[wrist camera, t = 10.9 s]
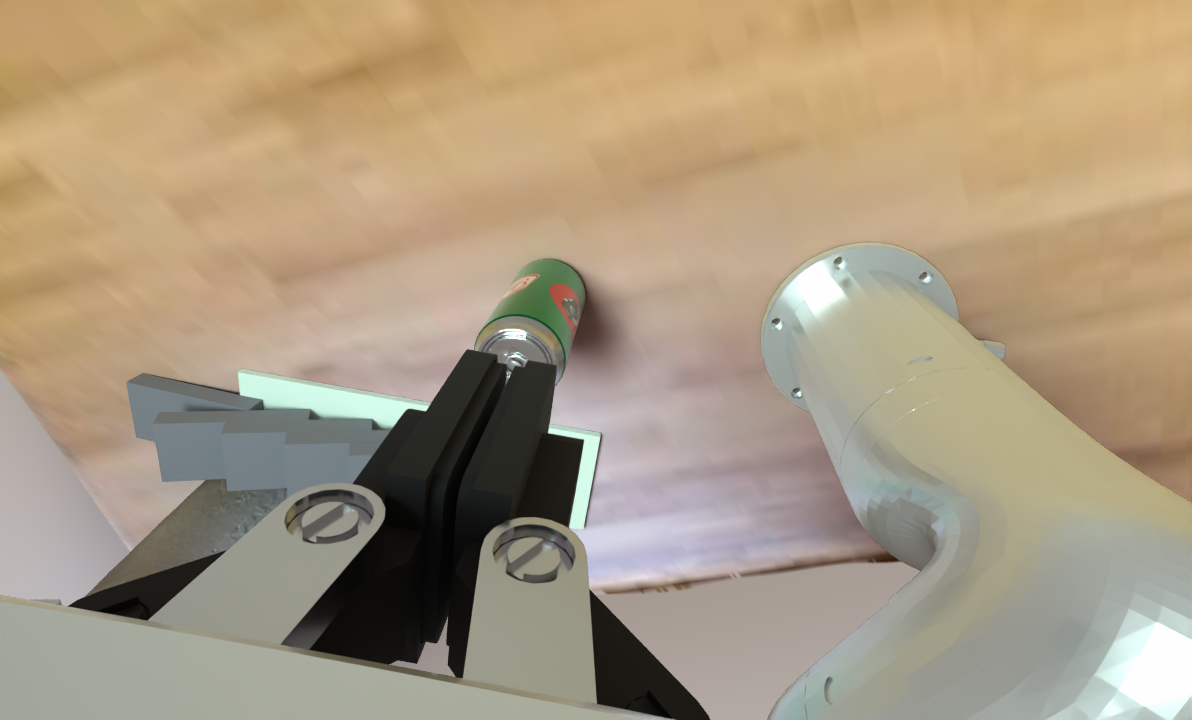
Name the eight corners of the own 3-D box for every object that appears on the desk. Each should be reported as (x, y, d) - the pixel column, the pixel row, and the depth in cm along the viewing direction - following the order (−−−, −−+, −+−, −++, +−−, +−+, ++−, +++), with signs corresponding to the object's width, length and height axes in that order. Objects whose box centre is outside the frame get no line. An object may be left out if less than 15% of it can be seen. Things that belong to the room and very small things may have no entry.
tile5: (308, 420, 48) (152, 423, 45) (310, 474, 51) (162, 481, 47) (310, 409, 50) (159, 411, 47) (312, 462, 52) (168, 468, 49)
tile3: (430, 440, 48) (283, 444, 45) (427, 494, 51) (287, 501, 47) (429, 429, 50) (286, 432, 47) (426, 481, 52) (290, 488, 49)
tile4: (371, 430, 49) (220, 433, 45) (371, 483, 51) (227, 491, 48) (372, 418, 50) (225, 421, 47) (371, 471, 52) (231, 477, 49)
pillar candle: (180, 516, 57) (32, 661, 43) (227, 447, 53) (81, 582, 40) (277, 575, 59) (165, 731, 45) (328, 512, 55) (224, 662, 42)
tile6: (248, 409, 48) (126, 382, 49) (253, 464, 51) (136, 437, 51) (261, 400, 50) (142, 373, 51) (266, 453, 52) (151, 427, 53)
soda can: (535, 242, 44) (495, 303, 33) (599, 281, 44) (580, 354, 33) (501, 302, 46) (452, 378, 35) (563, 338, 46) (534, 423, 36)
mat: (600, 432, 49) (600, 437, 49) (583, 525, 53) (583, 529, 53) (242, 368, 50) (237, 372, 49) (251, 465, 54) (247, 469, 53)
